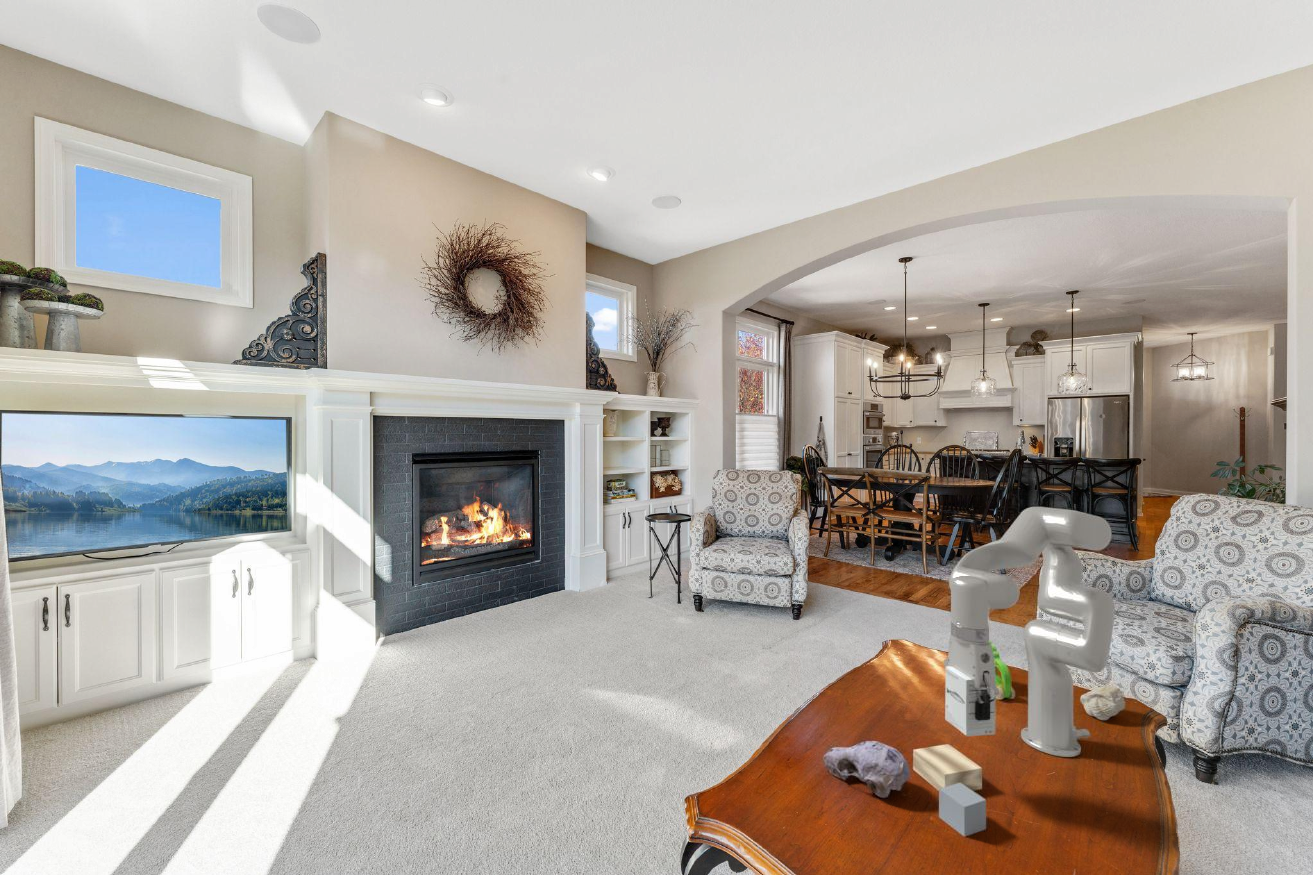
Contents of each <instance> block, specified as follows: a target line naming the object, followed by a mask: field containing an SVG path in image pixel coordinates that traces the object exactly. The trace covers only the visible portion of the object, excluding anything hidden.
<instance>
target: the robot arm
mask: <svg viewBox="0 0 1313 875" xmlns="http://www.w3.org/2000/svg"><path fill="white" fill-rule="evenodd" d="M1111 540H1112V529H1111V527H1110V524H1109V522H1108V521H1107V520H1106V519H1105V518H1103V517H1101V516H1098V515H1093V514H1090V513H1086V512H1081V511H1078V510H1073V509H1066V508H1065V509H1064V508H1055V507H1048V506H1047V507H1046V506H1031V507H1027V508H1025V509H1023V510H1022V511H1021V512H1020V514H1019V515H1018V516H1017V518H1016V519H1015V520H1014V521H1013V522H1012V524H1011V525H1010V527H1009V528H1008V529H1007V530H1006V532H1004V534H1003V535H1002V536H1001V538H1000V539H998V540H995V541H991V542H989V543H986V544H984V545H981V546H979V547H978V546H977V547H976V548H974V549H972V550H970V551H969V552H967V553H966V554H964V555H963V556H962V557H961V558H960V559H959V561H958V563H957V564H956V565H955V566H954V568H953V570H952V571H951V573H950V575H949V578H948V586H949V589H950V635H949V642H948V650H947V658H945V659H944V660H943V661H942V662H943V665H944V668H945V669H946V667H947V666H951V667H953V668H955V669H956V670H958V671H959V672H961V673H963V674H964V675H966V676H967V677H969V678H971V679H972V680H973V688H974V689H976V697H977V700H978V701H975V718H976V720H978V721H981V720H990V703H992V702H993V700H994V699H995V698H996V697H997V696H998V695H999V690H998V688H997V687H996V676H995V662H994V655H993V650H992V646H991V644H990V643H989V640H990V610H1005V609H1008V608H1009V609H1010V608H1011V607H1013V606H1015V605H1016V603H1017V602H1018V601H1019V599H1020V598H1019V597H1020V593H1021V592H1020V587H1019V585H1018V583H1017V582H1016V581H1015V580H1014V579H1012V578H1011V577H1008V576H1006V575H1002V574H998V573H993V572H992V571H997V570H1007V569H1009V570H1010V569H1016V568H1023V567H1028V566H1031V565H1033V564H1034V563H1035V562H1036V561H1038V559H1039V557H1040V556H1041V555H1042V560H1043V561H1042V562H1043V563H1042V569H1041V576H1040V581H1039V587H1038V590H1037V591H1038V592H1037V606H1038V609H1039V610H1040V611H1041V612H1043V613H1044V614H1046V615H1049V616H1052V617H1055V618H1059V619H1062V620H1065V621H1066V620H1067V621H1069V622H1073V623H1078V624H1081V625H1083V626H1084V629H1083V628H1082V629H1081V628H1079V627H1073V626H1070V625H1068V624H1063V623H1060V622H1057V621H1051V620H1047V619H1038V618H1037V619H1031V621H1028V623H1027V624H1025V627H1024V629H1023V641H1024V647H1025V651H1026V655H1027V656H1026V658H1027V675H1028V676H1027V726H1026V727H1024V728H1022V729H1021V732H1020V738H1021V739H1022V740H1023V741H1024V743H1026V744H1027V745H1028V746H1030V747H1032V748H1033V749H1036V750H1038V751H1039V752H1042V753H1046V754H1049V755H1051V756H1056V757H1061V758H1062V757H1063V758H1064V757H1065V758H1073V757H1076V756H1079V755H1081V751H1082V749H1081V748H1082V747H1081V744H1080V743H1079V742H1078V740H1079V739H1080V738H1083V739H1084V738H1090V737H1091V733H1090V731H1089V730H1088V729H1087V728H1086V729H1085V728H1079V729H1077V727H1076V726H1075V725H1074V680H1073V676H1072V673H1071V672H1070V670H1069V668H1068V667H1067V666H1070V667H1073V668H1075V669H1080V670H1083V671H1086V672H1089V673H1096V674H1097V673H1100V672H1102V671H1104V669H1105V668H1106V666H1107V665H1108V662H1109V661H1108V660H1109V656H1110V650H1111V644H1112V637H1113V636H1112V635H1113V632H1114V631H1113V629H1114V624H1115V623H1114V622H1115V614H1116V608H1115V603H1114V600H1113V597H1112V596H1111V595H1110V593H1108V592H1107V591H1105V590H1103V589H1101V588H1098V587H1092V586H1088V585H1084V584H1083V585H1082V581H1083V580H1082V578H1083V573H1084V572H1083V571H1084V566H1083V565H1084V564H1083V562H1082V560H1081V558H1080V557H1079V555H1078V554H1077V552H1076V551H1075V550H1074V548H1077V549H1078V548H1079V549H1085V550H1090V551H1102V550H1103V549H1105V548H1106V547H1107V546H1108V545H1109V544H1110V542H1111ZM982 681H984V682H985V684H986V687H980V685H981V684H982ZM980 690H985V694H984V695H983V696H982V695H981V692H980ZM995 700H996V699H995Z"/></svg>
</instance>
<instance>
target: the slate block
mask: <svg viewBox="0 0 1313 875" xmlns="http://www.w3.org/2000/svg"><path fill="white" fill-rule="evenodd" d="M938 802H939V803H938V817H939V819H941V820H942V821H943V822H945V823H946V824H947V825H949V826H950V827H951V828H953V829H954V830H955V831H956V832H957V833H959V834H960V835H962V836H963V837H965V838H966V837H967V836H971V835H973V834H976V833H979V832H983V831H985V830H986V829H987V799H985V797H983V796H981V795H980V794H979V793H977V792H975V790H974V791H972V790H971V789H969V788H968V787H966V786H965V785H963V784H962V783H957V784H953V785H950V786H947V787H944V788H940V789H939V791H938Z"/></svg>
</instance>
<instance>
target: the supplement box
mask: <svg viewBox="0 0 1313 875" xmlns="http://www.w3.org/2000/svg"><path fill="white" fill-rule="evenodd" d="M944 687H945V688H944V689H945V691H944V692H945V693H944V694H945V695H944V698H945V699H944V700H945V708H944V711H945V714H944V717H945V718H944V719H945V721H947V722H948V723H950V725H952V726H953V727H955V728H956V729H957V730H958V731H960V733H962V734H963V735H965V737H977V736H978V737H979V736H988V735H989V736H990V735H991V736H992V735H996V700H997V699H996V698H995V699H994V700H993V702H992V703H990V720H981V721H978V720H976V718H975V701H978V700H977V697H976V689H974V688H973V680H972V679H971V678H969V677H967V676H966V675H964V674H963V673H961V672H959V671H958V670H956V669H955V668H953V667H951V666H947V667H946V668H945V686H944ZM980 687H986V684H985V682H984V681H982V684H981V685H980ZM980 692H981V695H982V696H983V695H984V694H985V690H980Z"/></svg>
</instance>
